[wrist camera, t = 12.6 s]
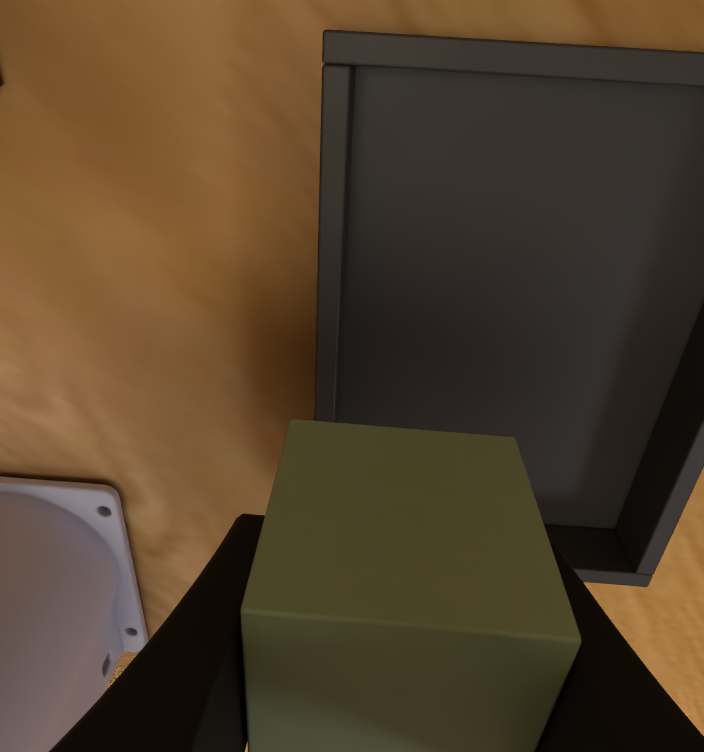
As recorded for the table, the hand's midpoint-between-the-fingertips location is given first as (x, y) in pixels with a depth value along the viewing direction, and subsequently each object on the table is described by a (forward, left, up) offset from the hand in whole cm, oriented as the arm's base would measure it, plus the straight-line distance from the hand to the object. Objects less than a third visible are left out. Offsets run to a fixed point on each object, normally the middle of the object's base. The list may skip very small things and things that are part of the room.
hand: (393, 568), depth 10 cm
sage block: (0, 0, -1) cm, 1 cm away
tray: (0, -4, -9) cm, 10 cm away
